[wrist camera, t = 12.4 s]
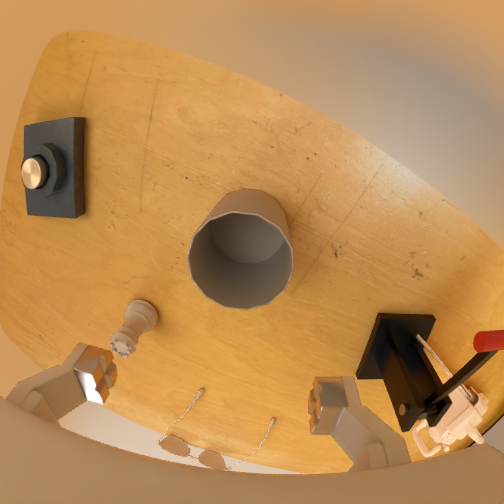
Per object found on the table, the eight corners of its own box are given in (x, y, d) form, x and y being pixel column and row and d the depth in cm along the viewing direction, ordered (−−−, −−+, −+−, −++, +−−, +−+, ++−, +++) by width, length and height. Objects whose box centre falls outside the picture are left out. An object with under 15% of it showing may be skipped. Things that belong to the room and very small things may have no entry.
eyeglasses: (160, 430, 48) (154, 446, 45) (196, 385, 42) (190, 403, 38) (229, 458, 50) (227, 473, 47) (280, 419, 44) (280, 437, 41)
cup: (248, 172, 30) (238, 187, 21) (302, 226, 32) (316, 263, 23) (195, 227, 33) (167, 263, 24) (248, 275, 35) (240, 326, 25)
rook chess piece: (133, 291, 37) (106, 326, 29) (163, 308, 37) (142, 346, 30) (125, 315, 38) (100, 350, 31) (153, 331, 39) (132, 369, 31)
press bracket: (378, 312, 36) (415, 388, 23) (432, 314, 36) (478, 379, 23) (355, 374, 40) (376, 449, 27) (406, 372, 40) (435, 439, 27)
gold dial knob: (29, 157, 27) (20, 159, 25) (49, 155, 27) (40, 157, 25) (31, 186, 28) (22, 189, 27) (50, 185, 28) (41, 188, 27)
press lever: (480, 323, 18) (489, 348, 16) (517, 321, 18) (526, 343, 16) (396, 404, 28) (399, 422, 27) (433, 400, 28) (436, 417, 26)
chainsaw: (426, 313, 36) (477, 362, 24) (481, 394, 44) (510, 428, 32) (347, 385, 38) (376, 450, 27) (430, 439, 47) (452, 478, 35)
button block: (34, 124, 29) (15, 126, 25) (84, 117, 29) (65, 117, 25) (37, 210, 33) (19, 219, 29) (85, 213, 33) (67, 222, 29)
